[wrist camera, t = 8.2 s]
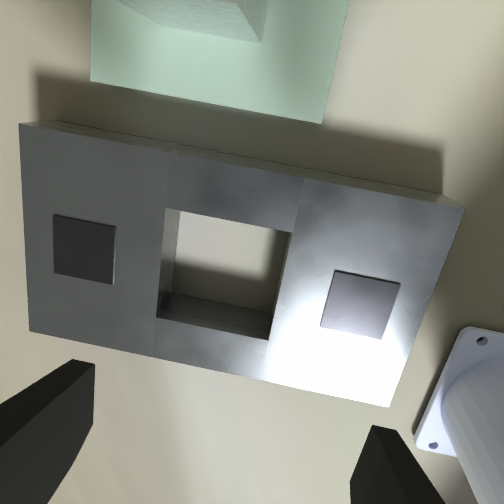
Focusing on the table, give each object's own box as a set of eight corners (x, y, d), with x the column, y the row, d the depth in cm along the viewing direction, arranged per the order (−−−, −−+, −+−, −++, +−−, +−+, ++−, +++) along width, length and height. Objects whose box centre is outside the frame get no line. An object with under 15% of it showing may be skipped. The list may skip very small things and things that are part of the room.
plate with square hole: (443, 194, 17) (466, 209, 15) (378, 373, 21) (388, 408, 19) (54, 120, 18) (16, 123, 16) (57, 306, 22) (28, 332, 19)
